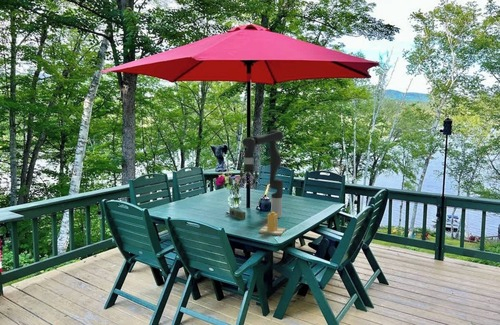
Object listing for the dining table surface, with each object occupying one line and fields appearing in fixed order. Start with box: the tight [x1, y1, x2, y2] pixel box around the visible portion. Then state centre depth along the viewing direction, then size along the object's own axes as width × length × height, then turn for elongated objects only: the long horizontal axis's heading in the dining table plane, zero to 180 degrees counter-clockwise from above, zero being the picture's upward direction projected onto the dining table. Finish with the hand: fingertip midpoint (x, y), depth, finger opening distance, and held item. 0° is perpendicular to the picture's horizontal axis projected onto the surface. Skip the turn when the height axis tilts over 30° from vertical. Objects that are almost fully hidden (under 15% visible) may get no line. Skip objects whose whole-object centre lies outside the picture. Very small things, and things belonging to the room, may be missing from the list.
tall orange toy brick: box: [266, 211, 279, 231], centre depth 247 cm, size 6×6×13 cm
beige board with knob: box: [258, 225, 287, 237], centre depth 248 cm, size 14×17×6 cm
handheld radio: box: [225, 207, 246, 221], centre depth 290 cm, size 7×3×25 cm
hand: (248, 183), depth 264 cm, fingers open, 8 cm apart
